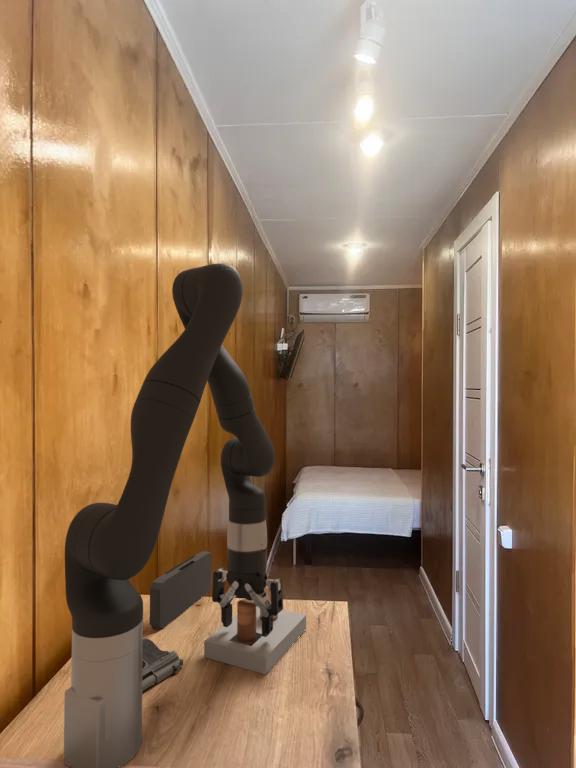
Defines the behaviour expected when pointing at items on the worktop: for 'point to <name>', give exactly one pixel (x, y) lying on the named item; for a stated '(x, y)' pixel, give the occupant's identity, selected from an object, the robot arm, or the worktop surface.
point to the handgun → (157, 664)
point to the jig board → (256, 642)
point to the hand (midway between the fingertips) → (246, 630)
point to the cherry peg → (246, 622)
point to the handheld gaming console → (179, 589)
